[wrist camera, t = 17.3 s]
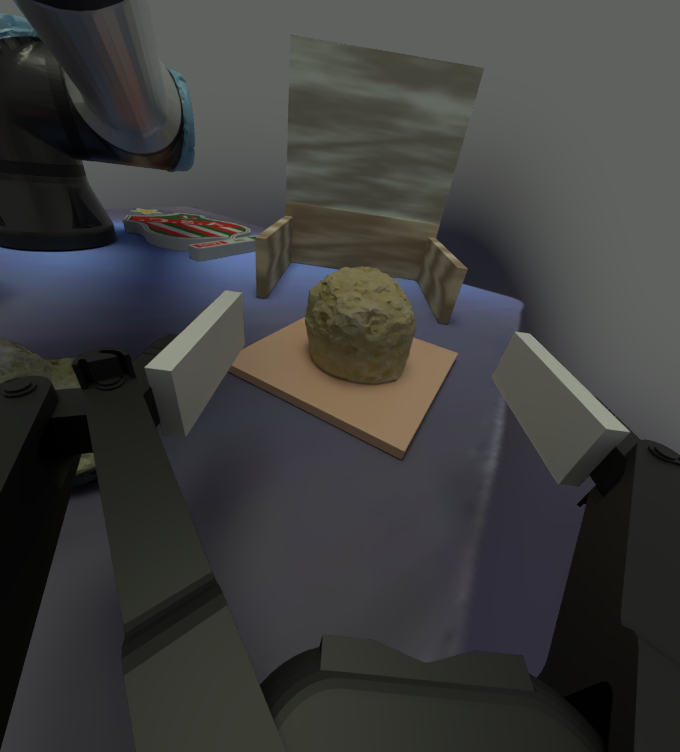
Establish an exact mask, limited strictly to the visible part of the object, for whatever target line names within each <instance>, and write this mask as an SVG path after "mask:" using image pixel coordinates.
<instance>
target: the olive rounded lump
mask: <svg viewBox="0 0 680 752" xmlns="http://www.w3.org/2000/svg"><path fill="white" fill-rule="evenodd" d="M414 317H415V315H414V313H413V311H412V307H411V304H410V301H409V300H408V299H407V297H406V296H405V294H404V291H403V290H402V289H401V287H400V285H399V284H398V282H397V281H396V280H394V279H393V278H391V277H390V276H389V275H388V274H386V273H382V272H380V270H379V269H378V268H371V267H363V266H362V267H356V268H349V267H344V268H341V269H340V270H338V271H336V272H334V273H331V274H329V275H327V276H326V277H325V278H324V279H323V280H322V281H320V282H319V283H318V284H317V285H316V286H314V287H313V288H312V289H310V290H309V297H308V305H307V308H306V315H305V325H306V329H307V336H308V341H309V348H308V349H309V351H310V353H311V355H312V359H313V360H314V362H315V364H316V365H317V366H318V367H320V368H321V369H323V370H325V371H326V372H328V373H330V374H331V375H334V376H337V377H339V378H343V379H347V380H348V381H351V382H358V383H366V384H378V383H384V382H390V381H393V380H397V379H398V377H399V375H401V374H402V372H403V369H404V367H405V365H406V362H407V359H408V358H409V354H410V349H411V345H412V342H413V337H414V332H415V330H416V329H417V327H416V322H415V318H414Z"/></svg>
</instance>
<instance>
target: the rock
mask: <svg viewBox="0 0 680 752" xmlns="http://www.w3.org/2000/svg"><path fill="white" fill-rule="evenodd" d="M77 357H78V356H77ZM75 358H76V357H75ZM75 358H69V357H66V358H63V359H55V360H45V359H42V358H41V357H40V356H39V355H38V354H35V353H32V352H30V351H29V350H28V349H26V348H24V347H22V346H20V345H18V344H16V343H14V342H11V341H9V340H8V339H4V338H0V383H2V382H4V381H7V380H9V379H10V380H11V379H12V378H16V377H24V376H42V377H47V378H48V379H49V380H50V381H51V382H52V384H53V386H54V388H55V389H70V388H81V386H80V384H79V382H78V379H77V377H76V375H75V372H74V370H73V368H72V366H71V365H72V362H73V360H74V359H75ZM96 479H98V477H97V471H96V466H95V460H94V455H93V453H87V454H82V455H81V458H80V462H79V465H78V469H77V473H76V476H75V480H74V484H73V487H75V486H77V485H80V484H83V483H87V482H90V481H92V480H96Z"/></svg>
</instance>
